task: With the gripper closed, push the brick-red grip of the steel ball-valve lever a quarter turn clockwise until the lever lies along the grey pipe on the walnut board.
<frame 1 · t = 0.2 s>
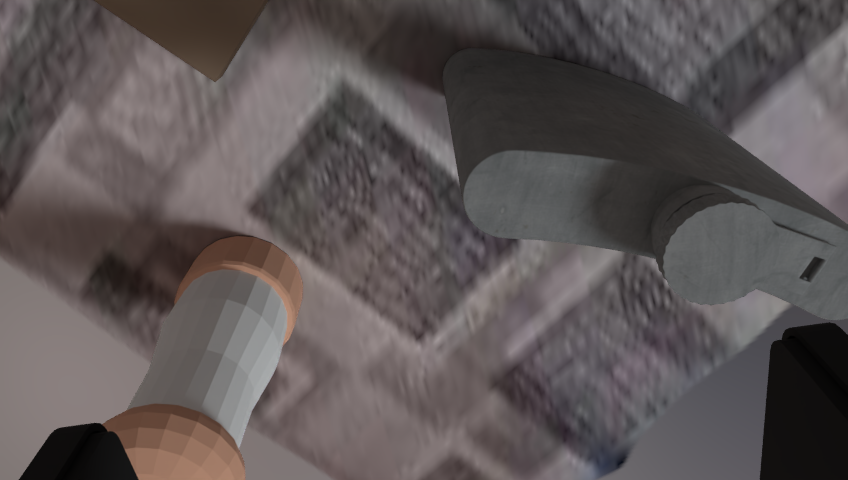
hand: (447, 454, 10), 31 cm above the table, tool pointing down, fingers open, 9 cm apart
salt shaker: (247, 284, 44), on the table
hip flask: (577, 98, 39), on the table
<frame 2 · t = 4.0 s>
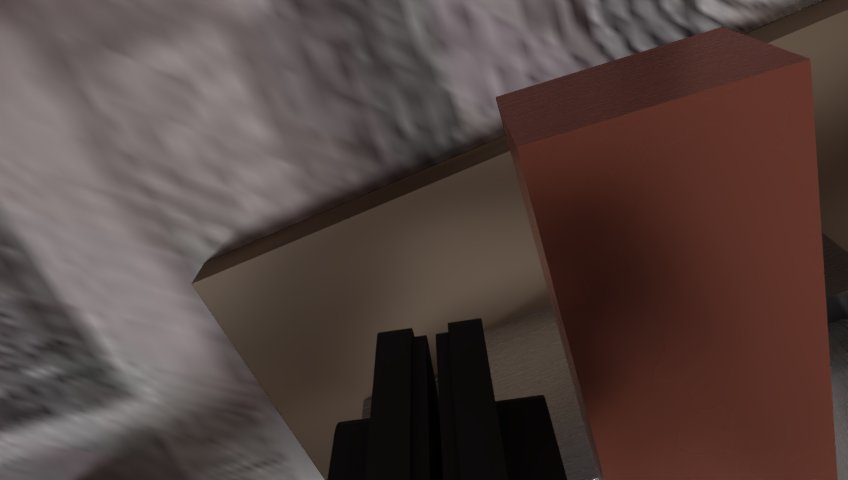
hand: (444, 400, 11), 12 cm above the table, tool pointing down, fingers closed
walnut board: (591, 351, 25), on the table
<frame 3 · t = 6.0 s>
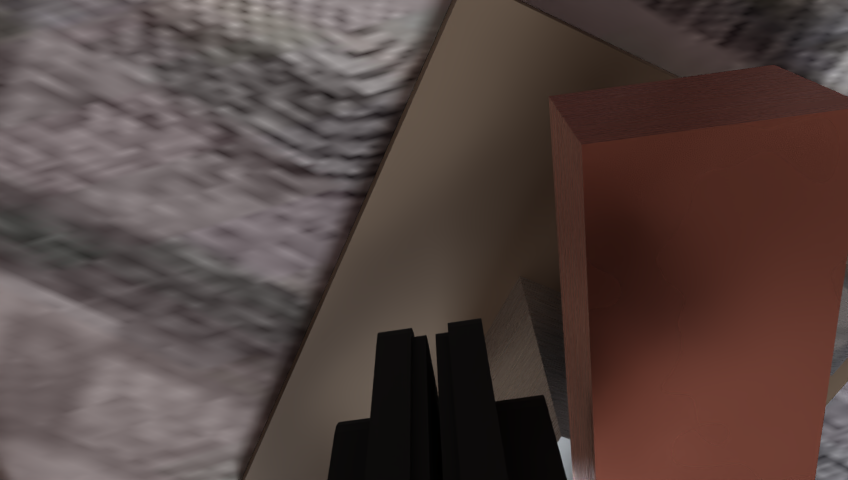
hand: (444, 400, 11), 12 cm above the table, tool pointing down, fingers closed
walnut board: (554, 364, 25), on the table
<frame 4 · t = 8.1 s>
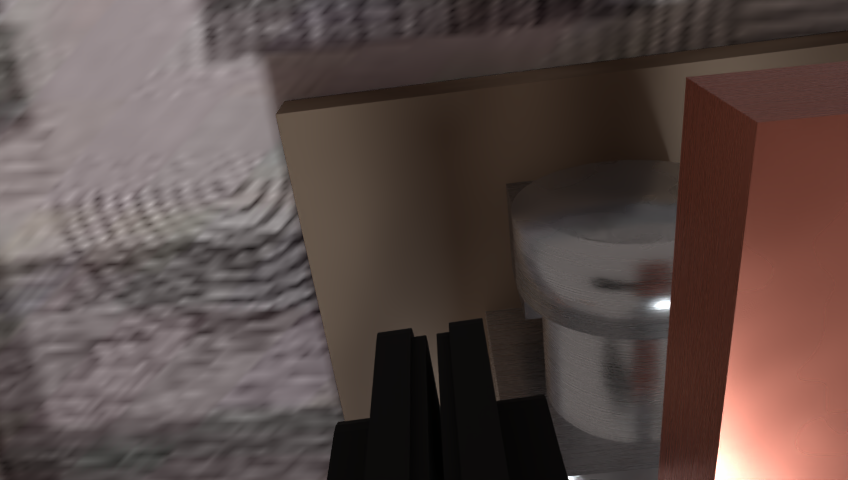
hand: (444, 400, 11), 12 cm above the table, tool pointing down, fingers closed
walnut board: (582, 358, 25), on the table
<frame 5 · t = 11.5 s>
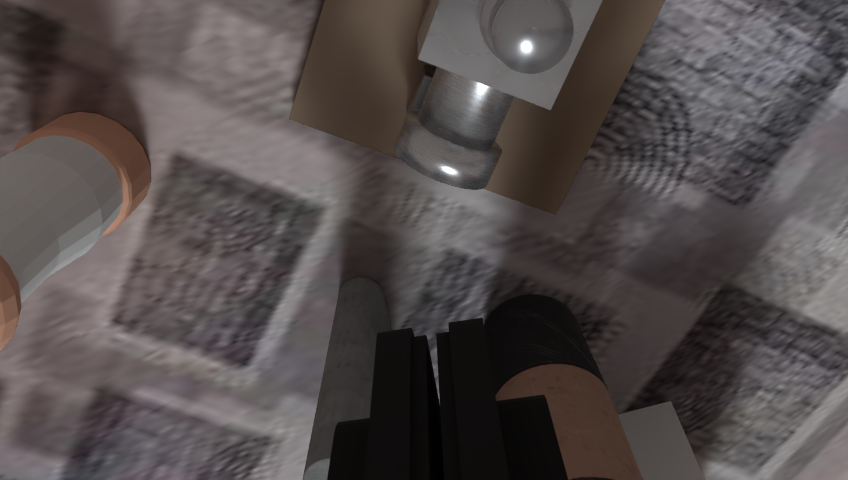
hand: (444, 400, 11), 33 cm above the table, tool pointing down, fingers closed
salt shaker: (95, 165, 44), on the table
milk: (609, 469, 56), on the table
travel mug: (529, 333, 50), on the table
valve body: (508, 7, 34), on the walnut board, point 6 cm above the table
hip flask: (370, 367, 51), on the table
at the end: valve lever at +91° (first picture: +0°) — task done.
